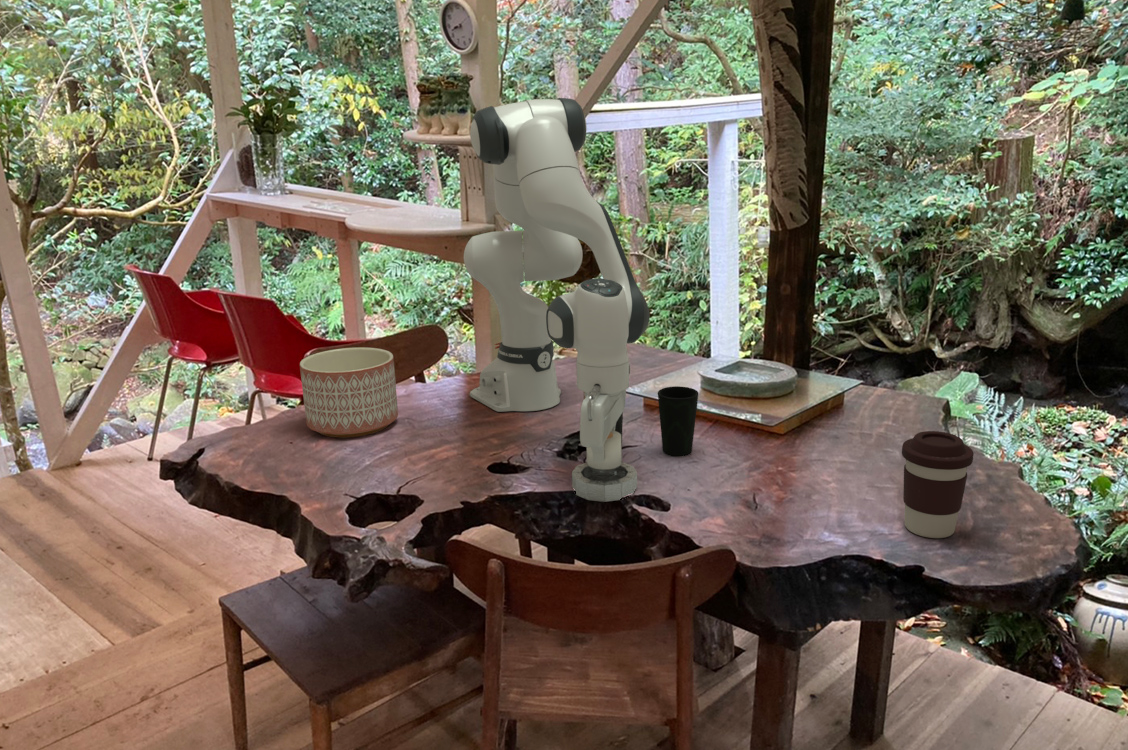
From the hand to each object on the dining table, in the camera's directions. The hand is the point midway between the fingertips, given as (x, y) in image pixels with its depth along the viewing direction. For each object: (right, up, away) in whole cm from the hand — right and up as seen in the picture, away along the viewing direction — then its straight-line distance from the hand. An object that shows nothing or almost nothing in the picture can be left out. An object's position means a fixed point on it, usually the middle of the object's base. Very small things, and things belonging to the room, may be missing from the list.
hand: (603, 453), depth 151 cm
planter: (-52, +3, +37) cm, 64 cm away
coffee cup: (+50, -10, -16) cm, 53 cm away
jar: (0, -2, 0) cm, 2 cm away
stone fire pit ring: (0, -6, +2) cm, 7 cm away
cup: (+15, -1, +18) cm, 23 cm away
